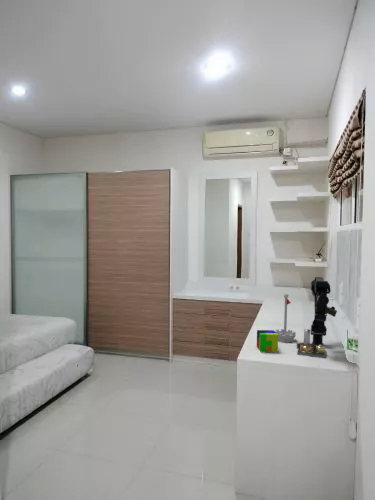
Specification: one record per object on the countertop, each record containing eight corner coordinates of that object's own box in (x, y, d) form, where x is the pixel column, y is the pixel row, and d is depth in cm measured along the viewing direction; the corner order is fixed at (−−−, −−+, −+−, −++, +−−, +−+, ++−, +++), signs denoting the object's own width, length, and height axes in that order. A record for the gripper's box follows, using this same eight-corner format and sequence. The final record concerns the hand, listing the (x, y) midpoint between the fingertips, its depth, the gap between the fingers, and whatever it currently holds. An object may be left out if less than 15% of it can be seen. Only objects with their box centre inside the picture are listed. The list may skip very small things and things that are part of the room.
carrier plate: (297, 348, 224) (297, 339, 223) (326, 352, 218) (326, 342, 217) (294, 354, 213) (295, 344, 212) (325, 358, 206) (325, 348, 206)
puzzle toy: (273, 346, 227) (273, 330, 226) (277, 351, 217) (278, 334, 216) (256, 346, 226) (257, 330, 226) (260, 351, 216) (260, 334, 216)
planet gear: (299, 347, 221) (300, 327, 220) (312, 349, 219) (313, 328, 218) (300, 351, 213) (300, 330, 213) (313, 353, 211) (314, 331, 211)
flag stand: (270, 337, 246) (271, 292, 245) (287, 336, 250) (288, 291, 249) (282, 343, 234) (283, 295, 232) (299, 341, 238) (301, 294, 237)
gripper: (336, 306, 206) (335, 334, 207) (336, 301, 223) (335, 327, 224) (314, 304, 210) (313, 332, 211) (316, 299, 228) (315, 325, 228)
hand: (320, 329), depth 218 cm, fingers open, 9 cm apart
